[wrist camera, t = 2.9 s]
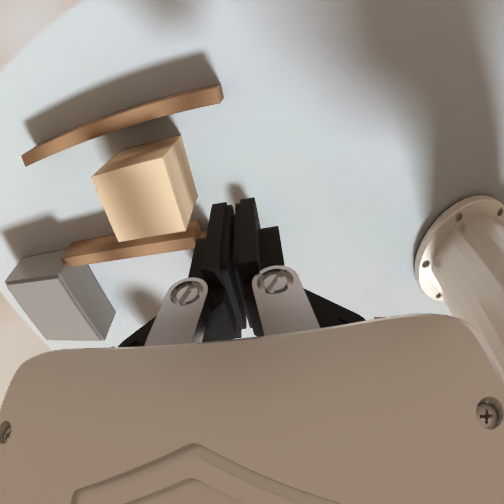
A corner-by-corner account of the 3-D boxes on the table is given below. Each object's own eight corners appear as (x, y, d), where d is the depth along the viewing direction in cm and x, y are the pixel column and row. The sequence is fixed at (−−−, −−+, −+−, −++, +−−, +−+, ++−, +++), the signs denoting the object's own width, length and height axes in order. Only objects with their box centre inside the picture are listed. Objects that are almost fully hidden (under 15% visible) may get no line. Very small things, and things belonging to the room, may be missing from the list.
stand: (78, 246, 26) (58, 275, 23) (115, 312, 31) (104, 342, 28) (22, 258, 27) (3, 283, 24) (59, 315, 32) (46, 341, 29)
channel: (228, 82, 18) (224, 86, 16) (265, 270, 27) (266, 289, 25) (30, 148, 20) (13, 159, 18) (98, 289, 29) (89, 306, 27)
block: (181, 134, 20) (162, 157, 16) (197, 195, 23) (185, 230, 19) (120, 150, 21) (91, 177, 17) (140, 207, 24) (118, 242, 20)
